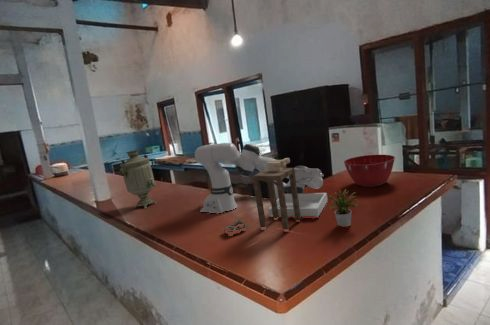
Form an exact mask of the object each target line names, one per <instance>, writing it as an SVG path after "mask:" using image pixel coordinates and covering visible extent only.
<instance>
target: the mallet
mask: <svg viewBox="0 0 490 325" xmlns="http://www.w3.org/2000/svg"><path fill="white" fill-rule="evenodd" d="M290 163H291V159H290V157H285V158H283V159H276V160H273V161H271V162H269V163H268V169H269V171H282V170H284V169H286V168H287V164H290Z"/></svg>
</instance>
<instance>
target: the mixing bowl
mask: <svg viewBox="0 0 490 325" xmlns="http://www.w3.org/2000/svg"><path fill="white" fill-rule="evenodd" d="M395 159H396V157H395V156H394V155H392V154H367V155H359V156H354V157H350V158H347V159H345V160H344V161H343V164H344V166H345V169H346V171H347V173H348V175H349V176H350V178H351V179H352V182H354V183H355V184H356V185H359V186H360V187H364V188H374V187H375V188H376V187H379V186H383V185H384V184H385V183H386V182H387V181H388V180H389V178H390V176H391V174H392V171H393V168H394V164H395V163H394V162H395Z"/></svg>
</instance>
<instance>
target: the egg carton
mask: <svg viewBox="0 0 490 325" xmlns="http://www.w3.org/2000/svg"><path fill="white" fill-rule="evenodd" d="M238 224H242V226H243V227H241V228H240V227H239V228H236V229H234V227H231V226H237V225H238ZM246 226H248V225H247V224H246V223H244V222H243V221H241V219H239V220H236V221H235V222H234V223H232V224H230V225H229V226H226V227H224V228H222V231H223V232H224V231H225V230H226V228H230V230H231V231H228V230H227V231H228V232H233V231H234V230H240V229H242V228H245V227H246Z"/></svg>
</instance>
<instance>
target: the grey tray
mask: <svg viewBox="0 0 490 325" xmlns="http://www.w3.org/2000/svg"><path fill="white" fill-rule="evenodd" d="M284 194H285V201H286V206H287V215H288V216H295V214H294V207H293V200H292V194H288V193H284ZM324 196H327V197H324ZM298 200H299V208H300V215H301V216H314V217H319V215H320V213H321V212H322V210H323V208H324V207H325V208H326V206H327V204H328V203H329V202H328V201H329V199H328V193H327V192H311V193H310V192H309V193H304V192H303V193H300V194H298ZM276 202H277V208H278V215H279V216H280V215H281V210H280V208H279V207H280V204H279V197H278V198H276ZM326 203H327V204H326ZM325 205H326V206H325ZM325 208H324V209H325ZM323 211H324V210H323ZM322 213H323V212H322ZM322 213H321V214H322ZM269 215H273V213H272V206H271V205H270V206H269V207H268V216H269ZM320 216H321V215H320ZM319 218H320V217H319Z"/></svg>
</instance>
